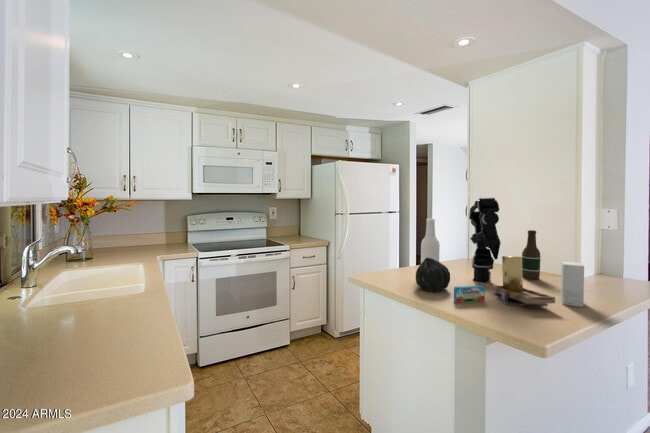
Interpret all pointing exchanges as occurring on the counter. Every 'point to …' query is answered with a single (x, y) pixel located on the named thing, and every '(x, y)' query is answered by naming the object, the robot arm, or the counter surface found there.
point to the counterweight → (512, 273)
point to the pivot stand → (512, 300)
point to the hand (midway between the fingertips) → (496, 259)
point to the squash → (432, 275)
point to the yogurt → (469, 294)
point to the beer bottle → (531, 258)
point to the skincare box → (572, 284)
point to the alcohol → (430, 242)
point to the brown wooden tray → (526, 296)
